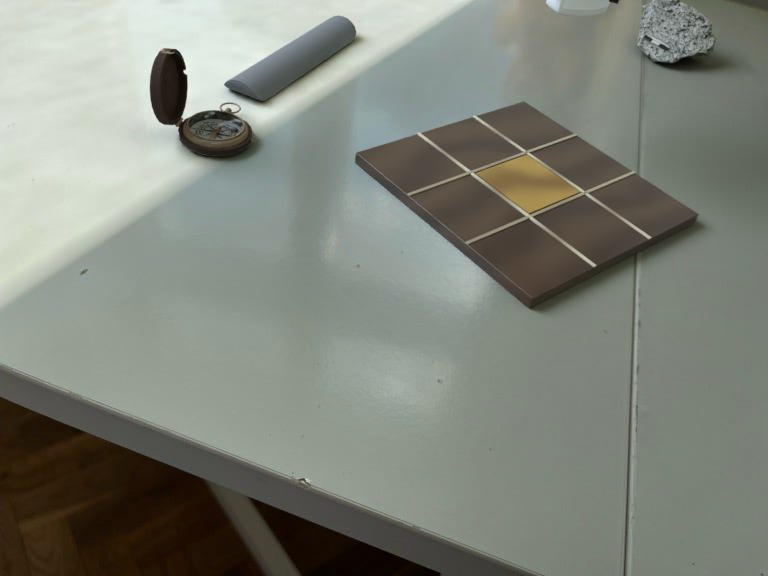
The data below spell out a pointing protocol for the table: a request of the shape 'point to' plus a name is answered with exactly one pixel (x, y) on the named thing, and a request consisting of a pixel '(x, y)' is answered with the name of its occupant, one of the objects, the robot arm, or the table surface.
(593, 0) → the eye dropper bottle
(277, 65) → the gray half cylinder
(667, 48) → the rock sample
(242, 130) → the compass
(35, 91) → the table surface
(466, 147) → the grid board
